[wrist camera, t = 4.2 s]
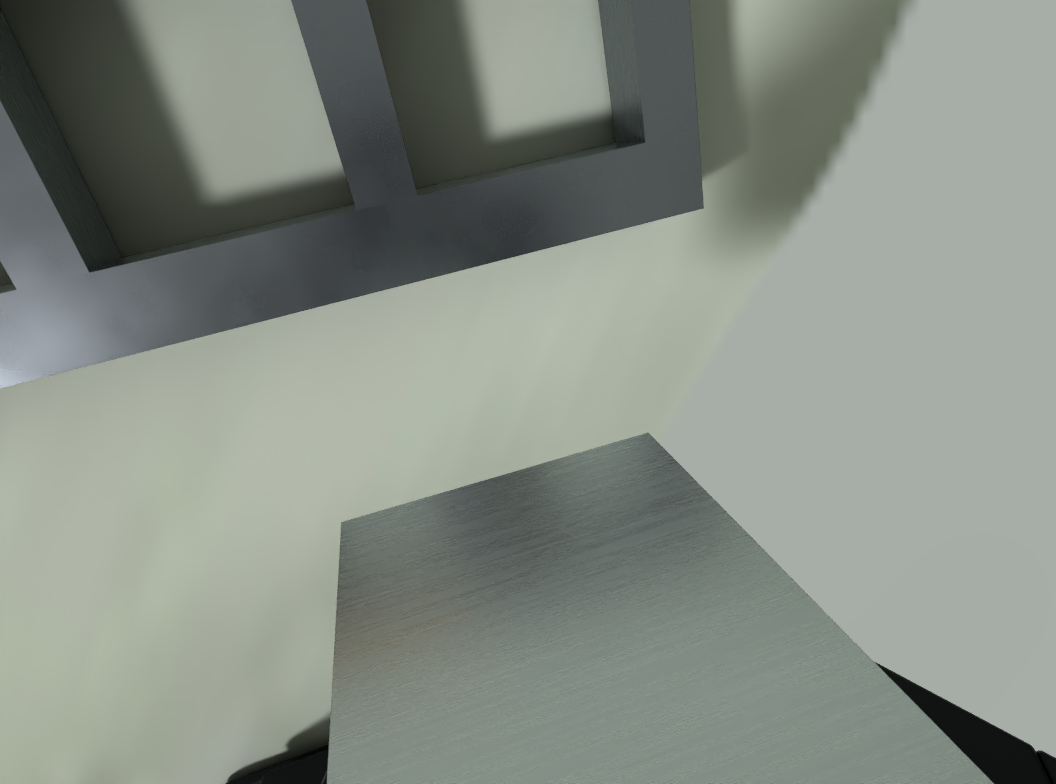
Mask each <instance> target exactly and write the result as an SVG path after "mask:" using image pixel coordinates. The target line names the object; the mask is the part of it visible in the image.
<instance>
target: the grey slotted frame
mask: <svg viewBox="0 0 1056 784" xmlns="http://www.w3.org/2000/svg"><path fill="white" fill-rule="evenodd" d="M291 1H292V4H293V7H294V10H295V14H296V17H297V20H298V23H299V26H300V30H301V33H302V36H303V39H304V43H305V46H306V49H307V52H308V56H309V59H310V62H311V65H312V68H313V72H314V75H315V78H316V81H317V85H318V88H319V91H320V94H321V98H322V101H323V104H324V107H325V110H326V114H327V117H328V120H329V123H330V127H331V130H332V133H333V136H334V140H335V143H336V146H337V149H338V152H339V156H340V159H341V162H342V165H343V169H344V172H345V175H346V178H347V182H348V185H349V188H350V191H351V194H352V198H353V201H354V204H351V205H347V206H343V207H338V208H334V209H330V210H325V211H321V212H317V213H312V214H308V215H304V216H299V217H295V218H291V219H287V220H282V221H278V222H274V223H269V224H265V225H261V226H256V227H252V228H248V229H243V230H239V231H235V232H231V233H226V234H222V235H218V236H213V237H209V238H205V239H200V240H196V241H192V242H187V243H183V244H179V245H174V246H170V247H166V248H162V249H157V250H153V251H149V252H144V253H140V254H136V255H131V256H127V257H123V258H122V257H121V255H120V253H119V251H118V249H117V247H116V245H115V243H114V241H113V239H112V237H111V235H110V233H109V231H108V229H107V227H106V225H105V223H104V221H103V218H102V216H101V214H100V212H99V210H98V208H97V206H96V204H95V202H94V200H93V198H92V196H91V194H90V192H89V190H88V188H87V186H86V184H85V182H84V180H83V178H82V176H81V173H80V171H79V169H78V167H77V165H76V163H75V161H74V159H73V157H72V155H71V153H70V151H69V149H68V147H67V145H66V143H65V141H64V139H63V137H62V135H61V133H60V131H59V128H58V126H57V124H56V122H55V120H54V118H53V116H52V114H51V112H50V110H49V108H48V106H47V104H46V102H45V100H44V98H43V96H42V94H41V92H40V90H39V88H38V86H37V83H36V81H35V79H34V77H33V75H32V73H31V71H30V69H29V67H28V65H27V63H26V61H25V59H24V57H23V55H22V53H21V51H20V49H19V47H18V45H17V43H16V41H15V38H14V36H13V34H12V32H11V30H10V28H9V26H8V24H7V22H6V20H5V18H4V16H3V14H2V12H1V10H0V261H1V263H2V265H3V267H4V268H5V270H6V272H7V274H8V275H9V277H10V279H11V280H12V282H13V283H11V284H6V285H2V286H0V388H3V387H7V386H11V385H15V384H19V383H23V382H27V381H31V380H35V379H39V378H43V377H46V376H50V375H54V374H58V373H62V372H66V371H70V370H74V369H78V368H82V367H85V366H89V365H93V364H97V363H101V362H105V361H109V360H113V359H117V358H121V357H125V356H128V355H132V354H136V353H140V352H144V351H148V350H152V349H156V348H160V347H164V346H167V345H171V344H175V343H179V342H183V341H187V340H191V339H195V338H199V337H203V336H207V335H210V334H214V333H218V332H222V331H226V330H230V329H234V328H238V327H242V326H246V325H249V324H253V323H257V322H261V321H265V320H269V319H273V318H277V317H281V316H285V315H288V314H292V313H296V312H300V311H304V310H308V309H312V308H316V307H320V306H324V305H328V304H331V303H335V302H339V301H343V300H347V299H351V298H355V297H359V296H363V295H367V294H370V293H374V292H378V291H382V290H386V289H390V288H394V287H398V286H402V285H406V284H410V283H413V282H417V281H421V280H425V279H429V278H433V277H437V276H441V275H445V274H449V273H452V272H456V271H460V270H464V269H468V268H472V267H476V266H480V265H484V264H488V263H492V262H495V261H499V260H503V259H507V258H511V257H515V256H519V255H523V254H527V253H531V252H534V251H538V250H542V249H546V248H550V247H554V246H558V245H562V244H566V243H570V242H574V241H577V240H581V239H585V238H589V237H593V236H597V235H601V234H605V233H609V232H613V231H616V230H620V229H624V228H628V227H632V226H636V225H640V224H644V223H648V222H652V221H656V220H659V219H663V218H667V217H671V216H675V215H679V214H683V213H687V212H691V211H695V210H698V209H702V208H704V206H703V191H702V176H701V162H700V147H699V132H698V118H697V103H696V88H695V74H694V59H693V44H692V30H691V15H690V0H598V3H599V11H600V19H601V27H602V35H603V43H604V52H605V60H606V68H607V76H608V84H609V92H610V100H611V108H612V116H613V124H614V132H615V141H616V143H614V144H610V145H605V146H601V147H597V148H593V149H588V150H584V151H580V152H575V153H571V154H567V155H562V156H558V157H554V158H549V159H545V160H541V161H536V162H532V163H528V164H524V165H519V166H515V167H511V168H506V169H502V170H498V171H493V172H489V173H485V174H480V175H476V176H472V177H468V178H463V179H459V180H455V181H450V182H446V183H442V184H437V185H433V186H429V187H424V188H420V189H416V187H415V183H414V179H413V175H412V172H411V168H410V164H409V160H408V157H407V153H406V149H405V145H404V141H403V138H402V134H401V130H400V126H399V123H398V119H397V115H396V111H395V107H394V104H393V100H392V96H391V92H390V88H389V85H388V81H387V77H386V73H385V70H384V66H383V62H382V58H381V54H380V51H379V47H378V43H377V39H376V35H375V32H374V28H373V24H372V20H371V17H370V13H369V9H368V5H367V1H366V0H291Z"/></svg>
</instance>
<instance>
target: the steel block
mask: <svg viewBox="0 0 1056 784" xmlns="http://www.w3.org/2000/svg"><path fill="white" fill-rule="evenodd" d="M327 784H994V783H993V782H992V781H991V780H990V779H989V778H988V777H987V776H986V775H985V774H984V773H983V772H982V771H981V770H980V769H979V768H978V767H977V766H976V765H975V764H974V763H973V762H972V761H971V760H970V759H969V758H968V757H967V756H966V755H965V754H964V753H963V752H962V751H961V750H960V749H959V748H958V747H957V746H956V745H955V744H954V743H953V742H952V741H951V740H950V738H949V737H948V736H947V735H946V734H945V733H944V732H943V731H942V730H941V729H940V728H939V727H938V726H937V725H936V724H935V723H934V722H933V721H932V720H931V719H930V718H929V717H928V716H927V715H926V714H925V713H924V712H923V711H922V710H921V709H920V708H919V707H918V706H917V705H916V704H915V703H914V702H913V701H912V700H911V699H910V698H909V697H908V696H907V695H906V694H905V693H904V692H903V691H902V690H901V689H900V688H899V687H898V686H897V685H896V684H895V683H894V682H893V681H892V680H891V679H890V678H889V677H888V676H887V675H886V673H885V672H884V671H883V670H882V669H881V668H880V667H879V666H878V665H877V664H876V663H875V662H874V661H873V660H871V658H870V657H869V656H868V655H867V654H866V653H865V652H864V651H863V650H862V649H861V648H860V647H859V646H858V645H857V644H856V643H855V642H854V641H853V640H852V639H851V638H850V637H849V636H848V635H847V634H846V633H845V632H844V631H843V630H842V629H841V628H840V627H839V626H838V625H837V624H836V623H835V622H834V621H833V620H832V619H831V618H830V617H829V616H828V615H827V614H826V613H825V612H824V611H823V610H822V608H820V606H818V604H817V603H816V602H815V601H813V599H812V598H811V597H810V596H809V595H808V594H807V593H805V591H804V590H803V589H802V588H801V587H800V586H799V585H798V584H797V583H796V582H795V581H794V580H793V579H792V578H791V577H790V576H789V575H788V574H787V573H786V572H785V571H784V570H783V569H782V568H781V567H780V566H779V565H778V564H777V563H776V562H775V561H774V560H773V559H772V558H771V557H770V556H769V555H768V554H767V553H766V552H765V551H764V550H763V549H762V548H761V547H760V546H759V545H758V544H757V542H756V541H754V539H753V538H752V537H750V535H748V533H747V532H746V531H745V530H744V529H743V528H742V527H741V526H740V525H739V524H738V523H737V522H736V521H735V520H734V519H733V518H732V517H731V516H730V515H729V514H728V513H727V512H726V511H725V510H724V509H723V508H722V507H721V506H720V505H719V504H718V503H717V502H716V501H715V500H714V499H713V498H712V497H711V496H710V495H709V494H708V493H707V492H706V491H705V490H704V489H703V488H702V487H701V486H700V485H699V484H698V483H697V482H696V481H695V480H694V478H693V477H691V475H690V474H689V473H688V472H687V471H686V470H685V469H684V468H683V467H682V466H681V465H680V464H679V463H678V462H677V461H676V460H675V459H674V458H673V457H672V456H671V455H670V454H669V453H668V452H667V451H666V450H665V449H664V448H663V447H662V446H661V445H660V444H659V443H658V442H657V441H656V440H655V439H654V438H653V437H652V436H651V435H650V434H649V433H645V434H642V435H638V436H635V437H632V438H628V439H625V440H621V441H618V442H614V443H611V444H608V445H604V446H601V447H597V448H594V449H591V450H587V451H584V452H580V453H577V454H573V455H570V456H567V457H563V458H560V459H556V460H553V461H549V462H546V463H543V464H539V465H536V466H532V467H529V468H525V469H522V470H519V471H515V472H512V473H508V474H505V475H502V476H498V477H495V478H491V479H488V480H484V481H481V482H478V483H474V484H471V485H467V486H464V487H460V488H457V489H454V490H450V491H447V492H443V493H440V494H437V495H433V496H430V497H426V498H423V499H419V500H416V501H413V502H409V503H406V504H402V505H399V506H395V507H392V508H389V509H385V510H382V511H378V512H375V513H371V514H368V515H365V516H361V517H358V518H354V519H351V520H348V521H344V522H341V538H340V556H339V574H338V592H337V610H336V627H335V645H334V663H333V681H332V699H331V717H330V735H329V753H328V771H327Z"/></svg>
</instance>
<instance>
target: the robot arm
mask: <svg viewBox="0 0 1056 784" xmlns="http://www.w3.org/2000/svg"><path fill="white" fill-rule="evenodd" d="M875 663H876V662H875ZM876 664H877V665H878V666H879V667H880V668H881V669H882V670H883V671H884V672H885V673H886V675H887V676H888V677H889V678H890V679H891V680H892V681H893V682H894V683H895V684H896V685H897V686H898V687H899V688H900V689H901V690H902V691H903V692H904V693H905V694H906V695H907V696H908V697H909V698H910V699H911V700H912V701H913V702H914V703H915V704H916V705H917V706H918V707H919V708H920V709H921V710H922V711H923V712H924V713H925V714H926V715H927V716H928V717H929V718H930V719H931V720H932V721H933V722H934V723H935V724H936V725H937V726H938V727H939V728H940V729H941V730H942V731H943V732H944V733H945V734H946V735H947V736H948V737H949V738H950V740H951V741H952V742H953V743H954V744H955V745H956V746H957V747H958V748H959V749H960V750H961V751H962V752H963V753H964V754H965V755H966V756H967V757H968V758H969V759H970V760H971V761H972V762H973V763H974V764H975V765H976V766H977V767H978V768H979V769H980V770H981V771H982V772H983V773H984V774H985V775H986V776H987V777H988V778H989V779H990V780H991V781H992V782H993V783H994V784H1056V758H1055V757H1053V756H1051V755H1049V754H1047V753H1045V752H1043V751H1037V752H1036V751H1035V750H1034V748H1033V747H1032V746H1031V745H1030V744H1028V743H1026V742H1024V741H1022V740H1020V739H1018V738H1017V737H1014V736H1013V735H1011V734H1009V733H1007V732H1005V731H1003V730H1002V729H1000V728H998V727H996V726H994V725H992V724H990V723H988V722H987V721H985V720H983V719H981V718H979V717H977V716H975V715H973V714H972V713H970V712H968V711H966V710H964V709H962V708H960V707H958V706H956V705H955V704H953V703H951V702H949V701H947V700H945V699H943V698H941V697H940V696H937V695H936V694H934V693H932V692H930V691H928V690H926V689H924V688H923V687H921V686H919V685H917V684H915V683H913V682H911V681H910V680H908V679H906V678H904V677H902V676H900V675H898V674H896V673H895V672H893V671H891V670H889V669H887V668H885V667H883V666H881V665H880V664H878V663H876ZM328 753H329V745H328V746H325V747H322V748H320V749H317V750H314V751H312V752H309V753H306V754H303V755H301V756H298V757H295V758H293V759H290V760H287V761H284V762H282V763H279V764H276V765H274V766H271V767H268V768H265V769H263V770H260V771H257V772H255V773H252V774H249V775H246V776H244V777H241V778H238V779H236V780H233V781H230V782H228V783H226V784H327V771H328Z"/></svg>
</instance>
